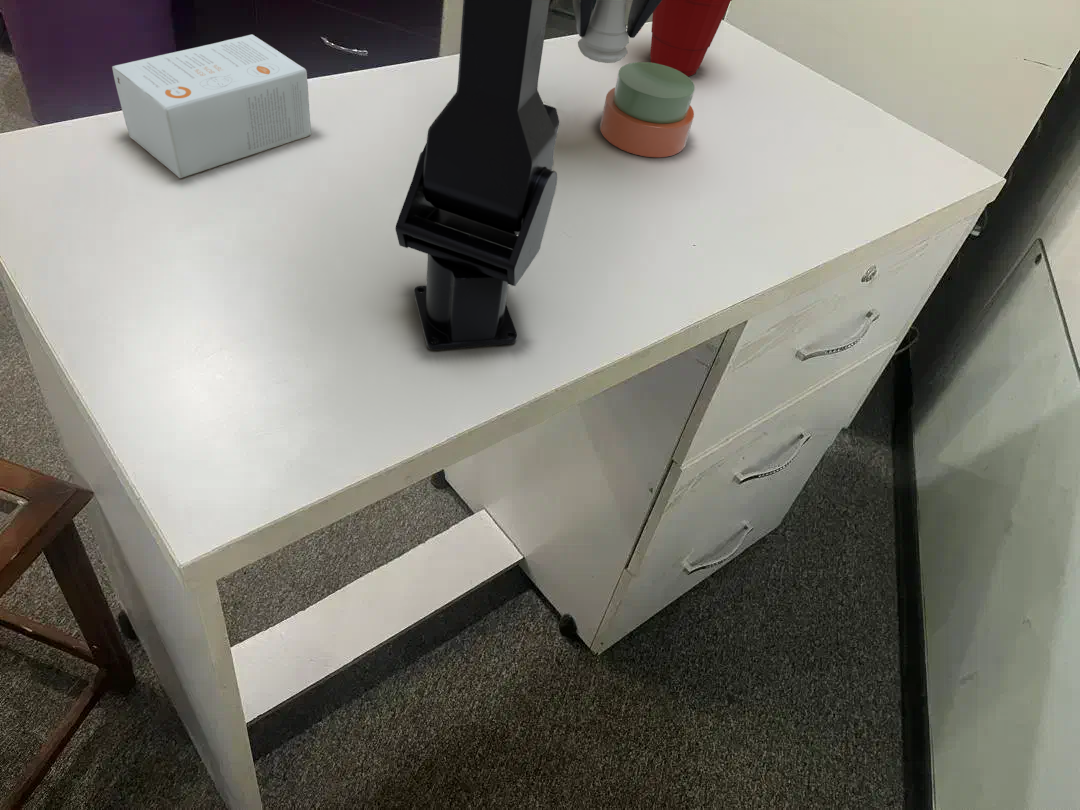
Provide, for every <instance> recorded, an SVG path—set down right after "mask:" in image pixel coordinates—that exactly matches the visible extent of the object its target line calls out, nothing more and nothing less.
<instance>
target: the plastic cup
mask: <svg viewBox="0 0 1080 810" xmlns="http://www.w3.org/2000/svg"><path fill="white" fill-rule="evenodd" d="M732 1H733V0H662V1H661V2H660V4H659V5H658V6H657V8H656V9H655V10H654V12H653V13H652V18H651V41H650V51H649V57H650V63H656V64H661V65H665V66H668V67H671V68H674V69H676V70H678V71H680V72H682V73H683V74H685V75H686V76H688V77H690V76H691V77H692V76H693V75H696V74H697V71H698V69H700V67H701V64H702V63H703V60H704V58H705V55H706V53H707V51H708V49H709V48H710V47H711V45H712V42H713V40H714V38H715V36H716V34H717V32H718V29H719V27H720V25H721V23H722V21H723V19H724V17H725V14H726V12H727V10H728V7H730V3H731V2H732Z"/></svg>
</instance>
